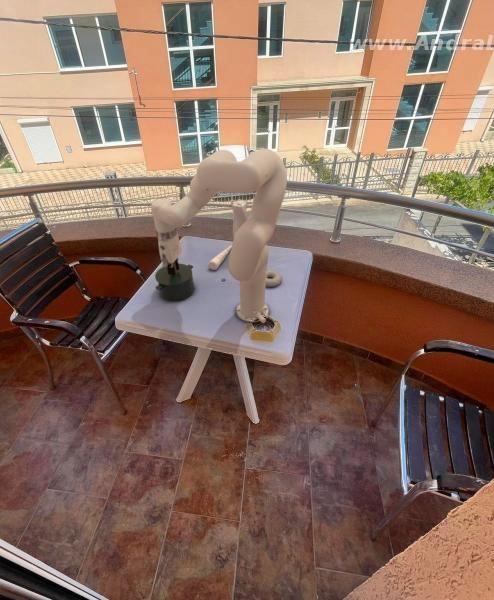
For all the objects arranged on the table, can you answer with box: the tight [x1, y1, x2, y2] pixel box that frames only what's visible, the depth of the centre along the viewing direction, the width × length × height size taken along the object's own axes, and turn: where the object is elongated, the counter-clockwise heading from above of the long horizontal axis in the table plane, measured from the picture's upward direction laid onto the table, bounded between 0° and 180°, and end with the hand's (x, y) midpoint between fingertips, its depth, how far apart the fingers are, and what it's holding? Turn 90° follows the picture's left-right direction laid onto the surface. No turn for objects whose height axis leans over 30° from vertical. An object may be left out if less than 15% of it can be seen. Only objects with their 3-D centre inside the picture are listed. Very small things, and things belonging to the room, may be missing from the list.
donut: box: [265, 269, 283, 288], centre depth 140 cm, size 10×3×10 cm
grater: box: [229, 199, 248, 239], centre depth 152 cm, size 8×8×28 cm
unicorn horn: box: [208, 244, 232, 271], centre depth 157 cm, size 5×24×5 cm, turn 152°
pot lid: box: [154, 261, 193, 286], centre depth 133 cm, size 16×16×7 cm
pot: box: [155, 264, 195, 302], centre depth 137 cm, size 15×20×8 cm
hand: (173, 271), depth 134 cm, fingers closed on pot lid, 3 cm apart
